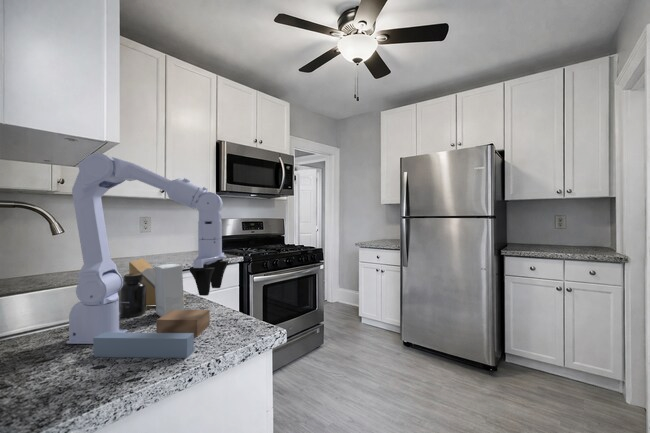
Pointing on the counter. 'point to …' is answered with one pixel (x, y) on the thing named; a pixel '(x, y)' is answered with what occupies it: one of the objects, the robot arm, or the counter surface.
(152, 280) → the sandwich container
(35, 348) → the counter surface
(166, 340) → the slate block
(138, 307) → the supplement bottle
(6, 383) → the counter surface
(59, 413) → the counter surface
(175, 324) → the walnut block
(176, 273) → the skincare box
